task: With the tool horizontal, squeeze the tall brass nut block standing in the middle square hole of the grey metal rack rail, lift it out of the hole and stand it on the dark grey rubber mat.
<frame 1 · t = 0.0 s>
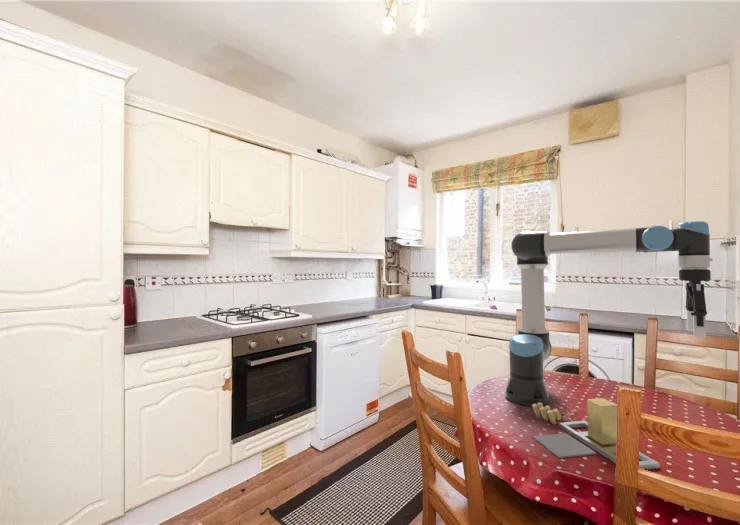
hand: (696, 333, 111), 28 cm above the table, tool pointing down, fingers open, 13 cm apart
nut block: (603, 445, 95), resting in rack rail
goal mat: (562, 445, 95), on the table
rack rail: (603, 444, 95), on the table
ammunition: (549, 420, 111), on the table
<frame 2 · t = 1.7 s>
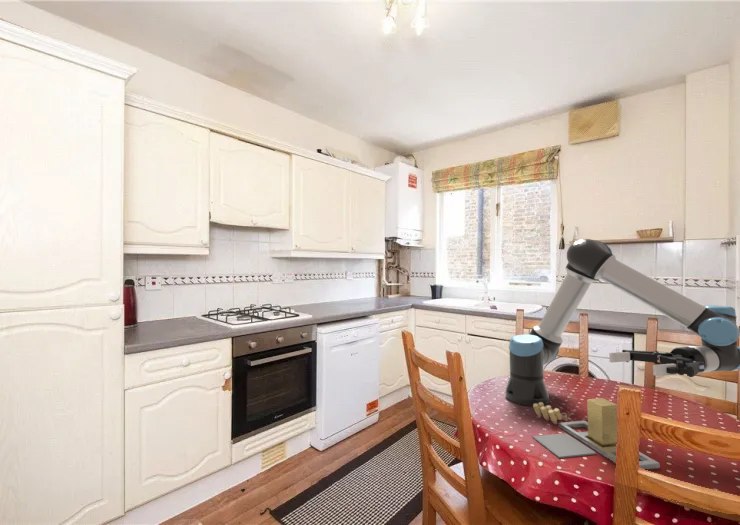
hand: (630, 363, 97), 22 cm above the table, tool horizontal, fingers open, 13 cm apart
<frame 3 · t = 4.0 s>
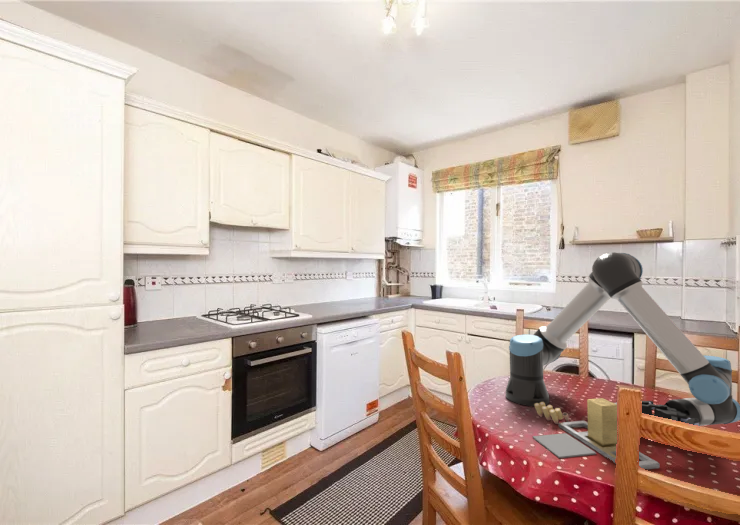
hand: (625, 418, 96), 7 cm above the table, tool horizontal, fingers open, 13 cm apart
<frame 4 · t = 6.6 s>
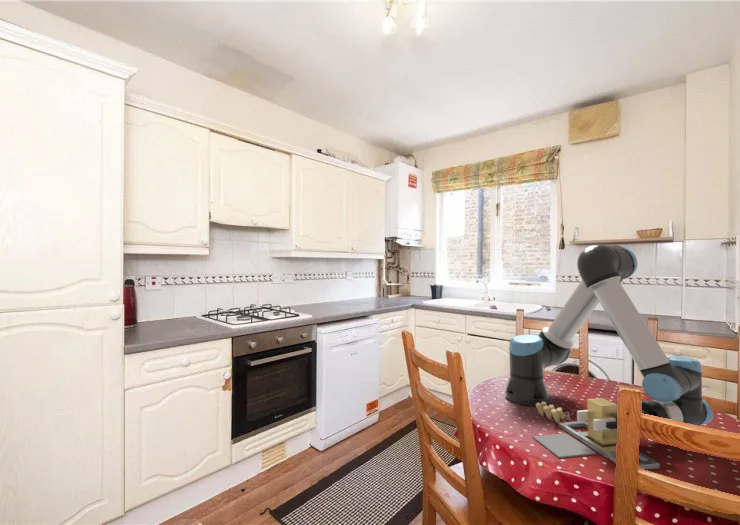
hand: (585, 420, 94), 7 cm above the table, tool horizontal, fingers closed on nut block, 5 cm apart
nut block: (603, 444, 95), resting in rack rail, touching gripper
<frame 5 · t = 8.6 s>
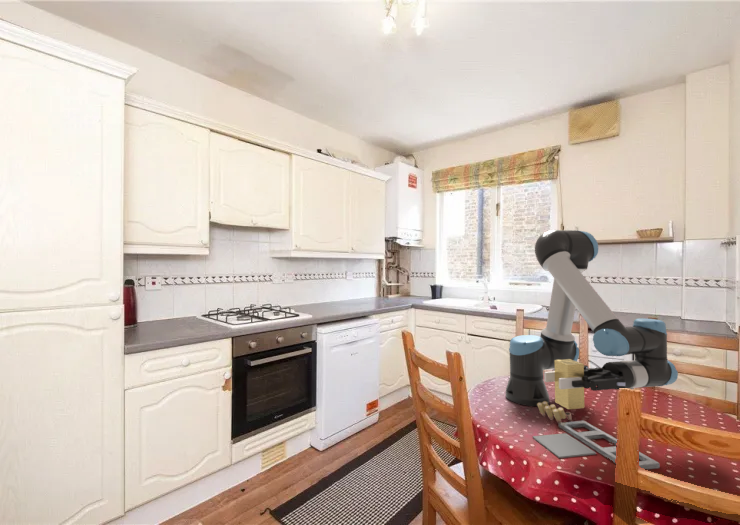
hand: (552, 380, 94), 19 cm above the table, tool horizontal, fingers closed on nut block, 5 cm apart
nut block: (569, 405, 95), point 11 cm above the table, touching gripper
when the fingers open (9 cm above the table, at t = 10.9 s): nut block drops 1 cm, resting on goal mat.
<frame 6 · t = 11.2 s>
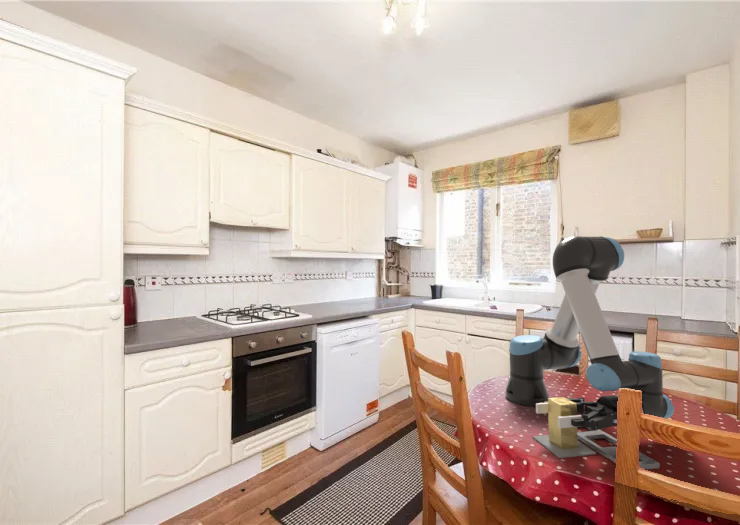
hand: (547, 415, 94), 9 cm above the table, tool horizontal, fingers open, 8 cm apart
nut block: (562, 444, 95), resting on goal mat
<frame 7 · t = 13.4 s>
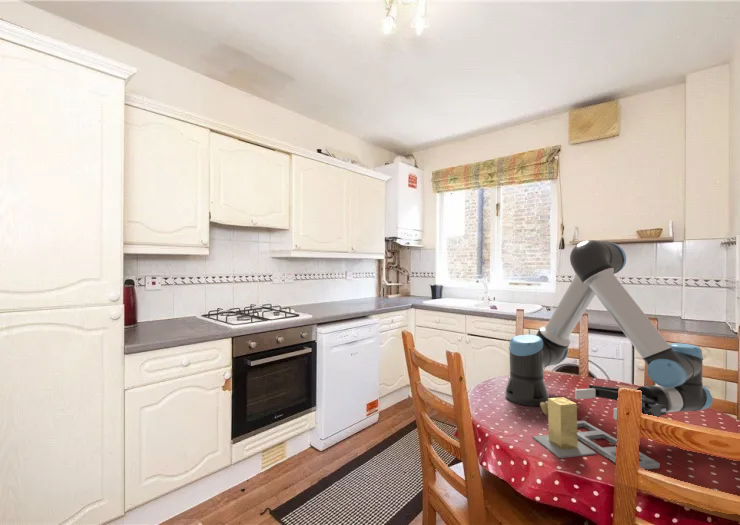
hand: (593, 403, 96), 11 cm above the table, tool horizontal, fingers open, 13 cm apart
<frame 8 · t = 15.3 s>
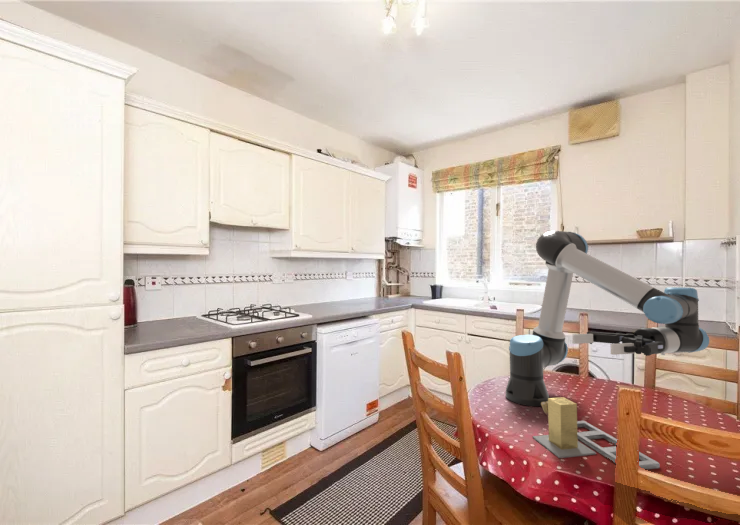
hand: (591, 343, 97), 28 cm above the table, tool horizontal, fingers open, 13 cm apart
at the end: nut block inside the target area on the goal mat (0.0 cm from its centre), point 0.4 cm above the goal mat's base; nut block tilted 0°; nut block moved 11.4 cm from its start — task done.
